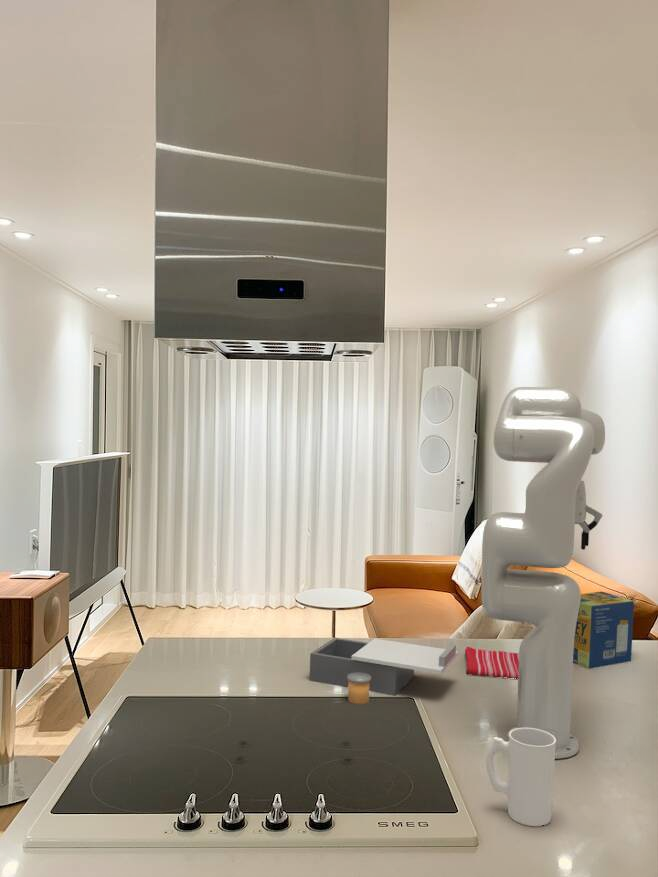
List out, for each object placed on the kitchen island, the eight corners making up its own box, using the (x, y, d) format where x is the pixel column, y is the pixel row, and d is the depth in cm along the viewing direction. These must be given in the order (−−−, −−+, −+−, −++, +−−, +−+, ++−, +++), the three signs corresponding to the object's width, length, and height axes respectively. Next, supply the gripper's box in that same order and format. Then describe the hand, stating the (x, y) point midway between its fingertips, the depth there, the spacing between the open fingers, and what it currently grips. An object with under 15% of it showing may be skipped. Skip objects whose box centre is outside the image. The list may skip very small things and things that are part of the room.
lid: (441, 674, 157) (441, 660, 157) (351, 659, 165) (351, 646, 165) (458, 654, 171) (458, 642, 171) (374, 641, 179) (374, 630, 179)
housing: (394, 695, 162) (395, 667, 162) (309, 680, 170) (310, 653, 169) (413, 675, 175) (414, 649, 174) (333, 662, 182) (334, 637, 182)
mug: (555, 810, 116) (558, 732, 115) (550, 832, 109) (553, 749, 109) (488, 796, 119) (491, 720, 119) (480, 816, 113) (483, 736, 113)
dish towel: (464, 655, 193) (465, 644, 193) (561, 663, 189) (561, 652, 189) (464, 677, 176) (464, 666, 176) (570, 687, 172) (570, 675, 172)
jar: (365, 706, 155) (366, 682, 155) (342, 702, 157) (343, 678, 157) (373, 698, 160) (374, 674, 160) (351, 694, 162) (352, 670, 162)
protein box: (556, 656, 192) (558, 596, 192) (599, 649, 200) (602, 591, 199) (588, 669, 183) (590, 605, 183) (632, 661, 190) (635, 600, 190)
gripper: (524, 472, 178) (521, 545, 178) (602, 477, 171) (599, 552, 171) (529, 471, 185) (526, 541, 185) (604, 475, 178) (602, 548, 178)
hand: (561, 546), depth 178 cm, fingers open, 9 cm apart
